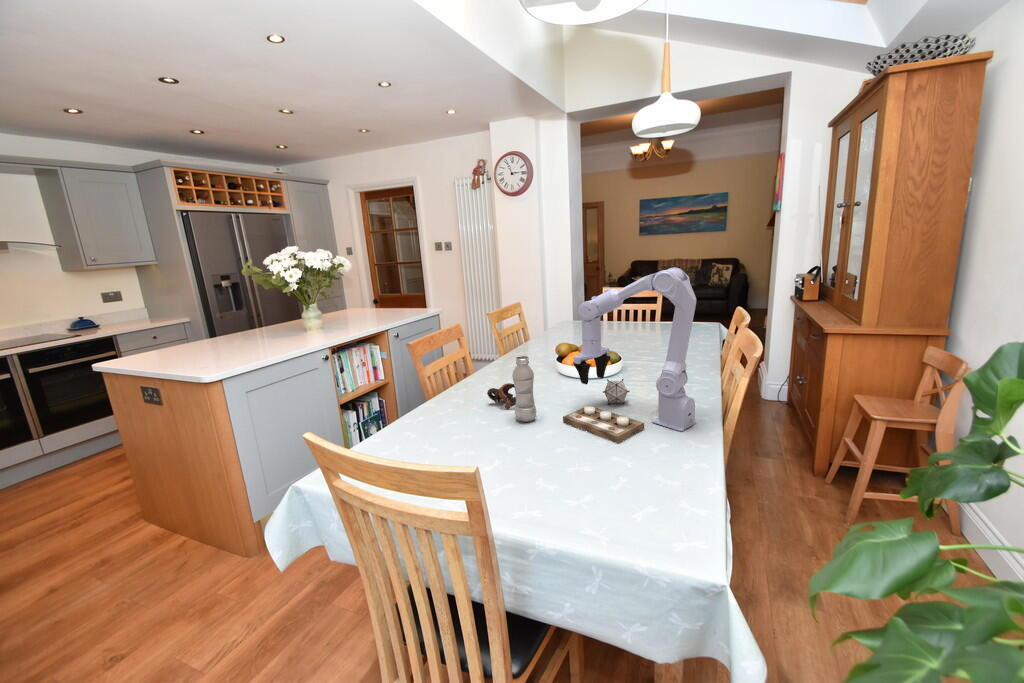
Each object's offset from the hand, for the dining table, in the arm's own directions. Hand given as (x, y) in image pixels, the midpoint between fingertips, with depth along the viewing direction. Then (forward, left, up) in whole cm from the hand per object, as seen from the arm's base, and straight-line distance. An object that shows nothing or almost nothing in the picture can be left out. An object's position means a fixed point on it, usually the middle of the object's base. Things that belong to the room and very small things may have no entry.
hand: (592, 380), depth 139 cm
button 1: (-5, +8, -8) cm, 12 cm away
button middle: (-11, +8, -8) cm, 15 cm away
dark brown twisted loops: (+24, +17, -10) cm, 31 cm away
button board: (-11, +9, -9) cm, 17 cm away
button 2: (-17, +8, -8) cm, 20 cm away
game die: (-3, -8, -10) cm, 13 cm away
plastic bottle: (+9, +21, -10) cm, 25 cm away
